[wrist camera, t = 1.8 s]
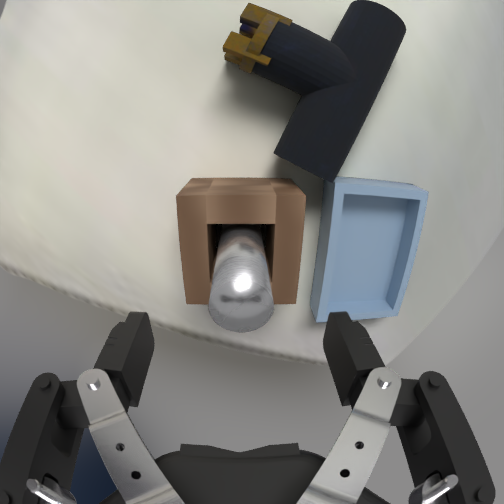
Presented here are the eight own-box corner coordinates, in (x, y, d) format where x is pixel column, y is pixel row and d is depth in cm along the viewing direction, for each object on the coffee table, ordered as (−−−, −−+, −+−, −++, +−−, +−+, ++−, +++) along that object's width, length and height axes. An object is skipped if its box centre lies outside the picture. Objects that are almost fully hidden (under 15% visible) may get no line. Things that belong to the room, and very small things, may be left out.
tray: (411, 183, 23) (428, 191, 21) (386, 299, 29) (397, 315, 26) (324, 175, 23) (335, 182, 20) (309, 304, 29) (316, 322, 26)
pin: (260, 206, 24) (275, 279, 13) (259, 241, 25) (272, 331, 15) (222, 206, 24) (206, 279, 13) (222, 241, 25) (210, 331, 14)
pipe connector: (185, 118, 16) (282, -48, 11) (196, 119, 21) (273, -19, 15) (342, 189, 19) (418, 29, 13) (321, 175, 23) (387, 41, 18)
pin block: (290, 178, 23) (306, 196, 18) (285, 266, 27) (295, 303, 21) (191, 178, 23) (176, 196, 17) (197, 266, 26) (186, 304, 21)
